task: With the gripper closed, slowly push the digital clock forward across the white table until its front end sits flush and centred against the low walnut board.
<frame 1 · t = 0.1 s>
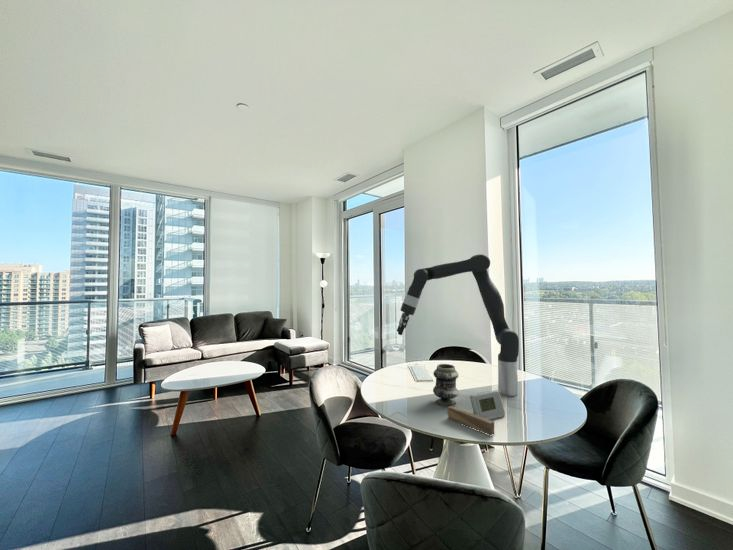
hand: (399, 333, 173), 31 cm above the table, tool tilted 20°, fingers open, 8 cm apart
stone urn vase: (445, 403, 159), on the table
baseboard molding: (419, 375, 207), on the table
digital clock: (487, 418, 142), on the table
walnut board: (470, 426, 133), on the table
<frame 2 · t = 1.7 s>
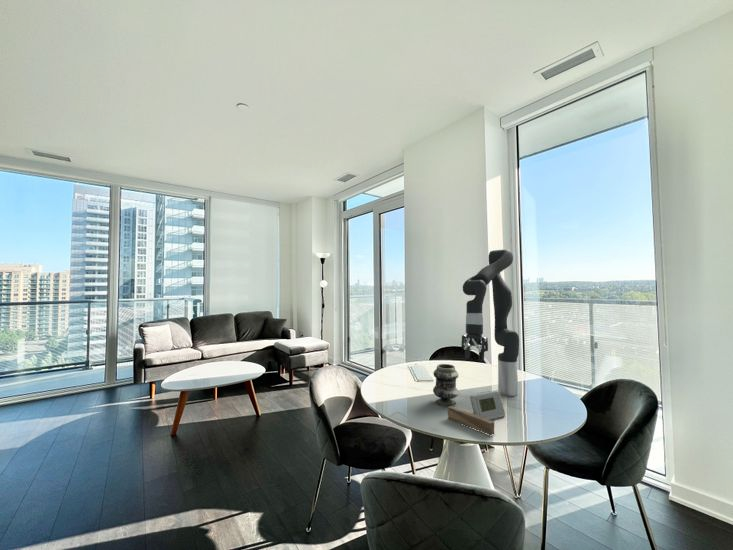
hand: (474, 359, 149), 24 cm above the table, tool pointing down, fingers open, 8 cm apart
nothing on the table moved.
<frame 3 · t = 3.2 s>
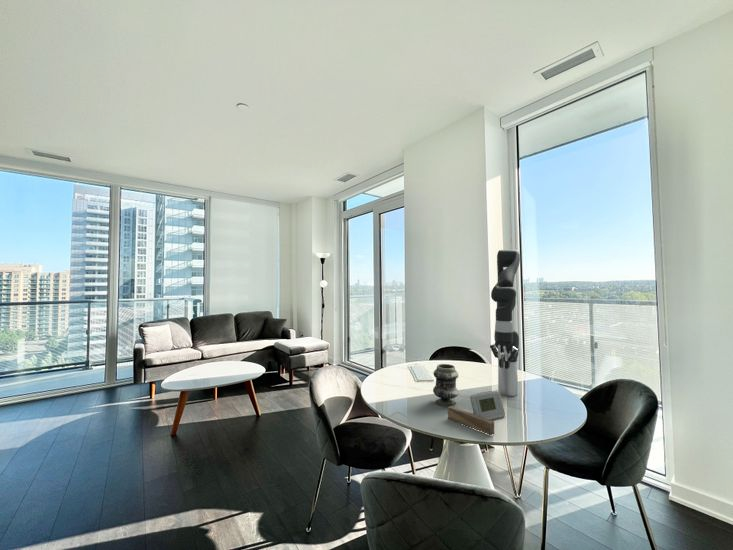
hand: (504, 367, 151), 19 cm above the table, tool pointing down, fingers closed
nothing on the table moved.
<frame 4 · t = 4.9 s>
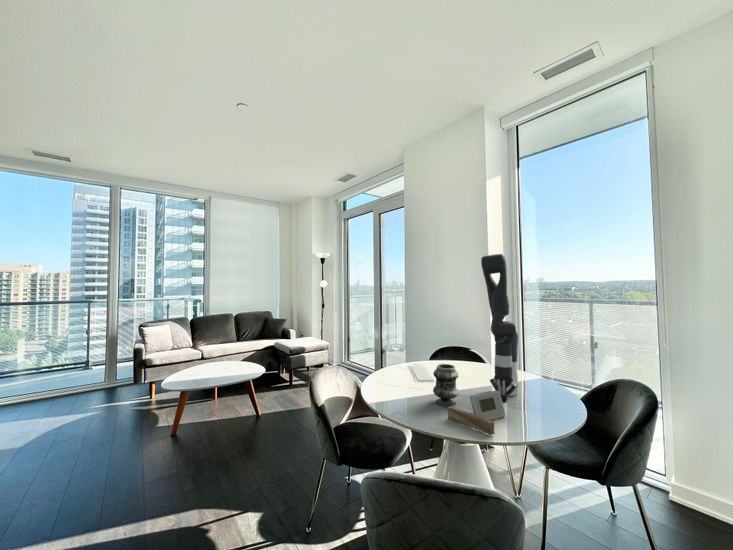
hand: (503, 402, 150), 3 cm above the table, tool pointing down, fingers closed
nothing on the table moved.
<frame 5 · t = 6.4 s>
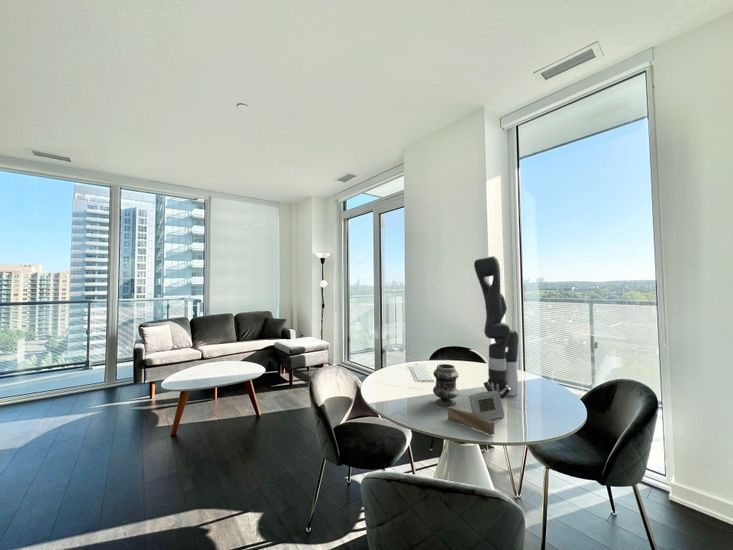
hand: (497, 406, 147), 3 cm above the table, tool pointing down, fingers closed
digital clock: (487, 418, 141), on the table, touching gripper
everything else where it was.
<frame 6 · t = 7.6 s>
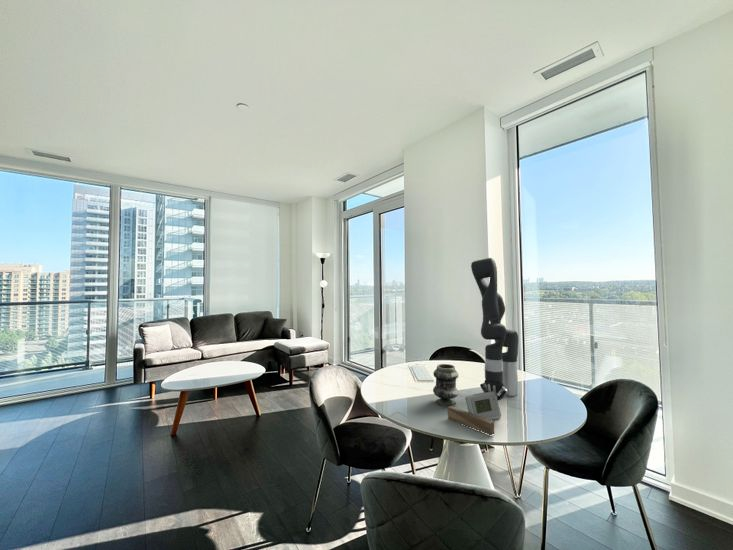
hand: (494, 407, 145), 3 cm above the table, tool pointing down, fingers closed
digital clock: (483, 420, 140), on the table, touching gripper
everything else where it was.
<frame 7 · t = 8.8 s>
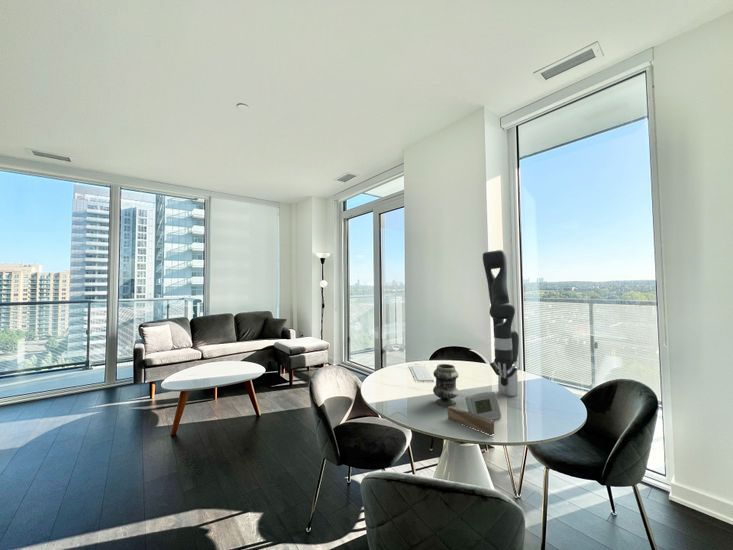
hand: (504, 385, 149), 12 cm above the table, tool pointing down, fingers closed
digital clock: (483, 420, 140), on the table
everything else where it was.
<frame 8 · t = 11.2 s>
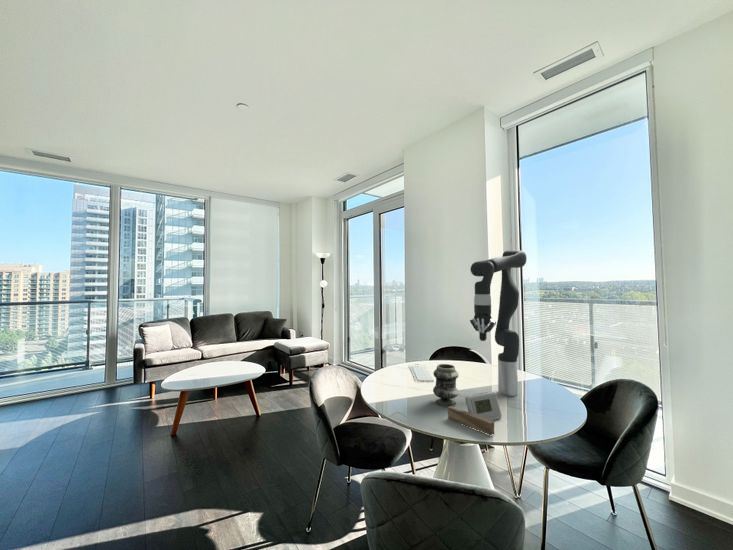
hand: (482, 340, 154), 31 cm above the table, tool pointing down, fingers closed
nothing on the table moved.
at the end: digital clock 0.1 cm from the target spot on the table beside the walnut board, on the table; digital clock tilted 0° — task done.
